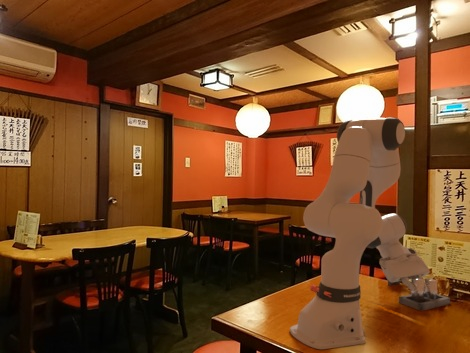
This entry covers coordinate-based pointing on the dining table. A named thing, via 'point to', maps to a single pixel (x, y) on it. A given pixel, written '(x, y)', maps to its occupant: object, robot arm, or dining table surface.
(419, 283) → the billet
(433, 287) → the billet
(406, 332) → the dining table surface
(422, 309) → the grey divided tray
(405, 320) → the dining table surface
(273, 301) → the dining table surface
